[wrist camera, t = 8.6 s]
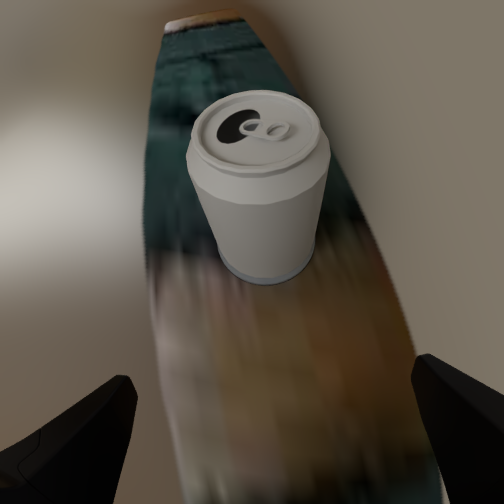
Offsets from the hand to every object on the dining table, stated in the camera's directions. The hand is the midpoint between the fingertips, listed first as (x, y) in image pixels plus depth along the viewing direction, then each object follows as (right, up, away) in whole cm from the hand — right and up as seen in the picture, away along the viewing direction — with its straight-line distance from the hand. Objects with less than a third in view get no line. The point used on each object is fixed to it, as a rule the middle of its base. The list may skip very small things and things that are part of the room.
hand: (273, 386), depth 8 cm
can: (+1, +5, +16) cm, 17 cm away
